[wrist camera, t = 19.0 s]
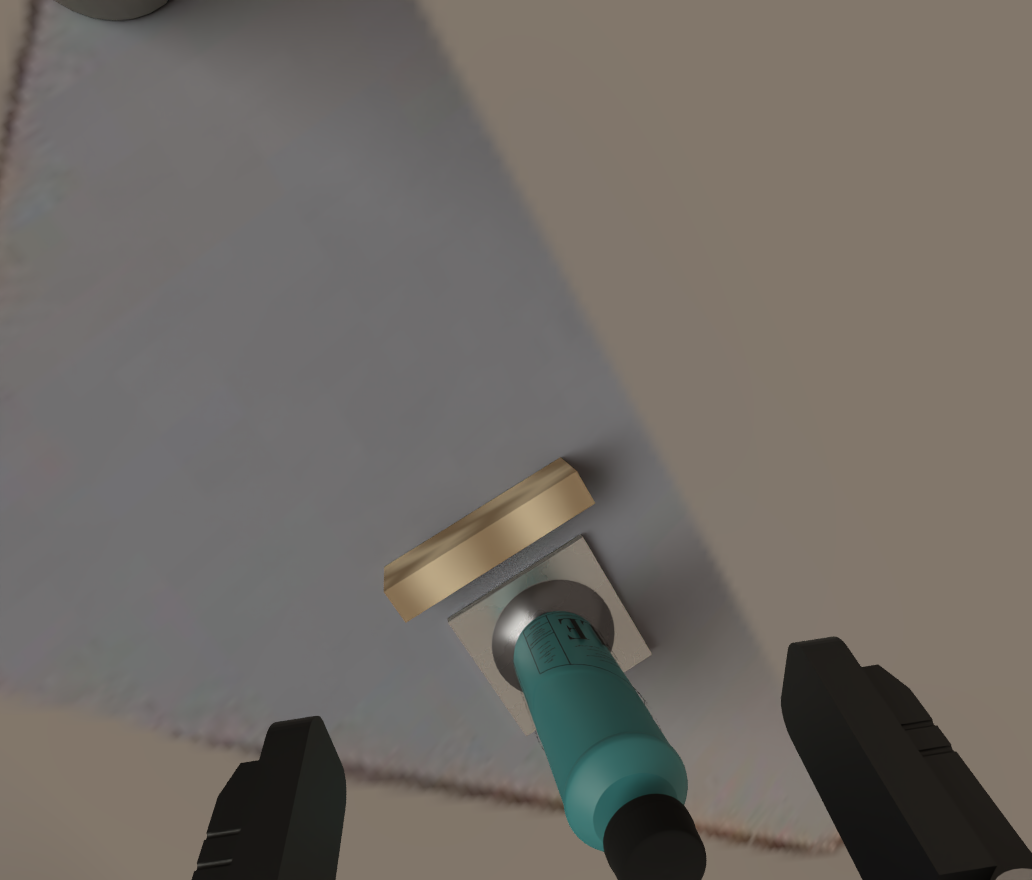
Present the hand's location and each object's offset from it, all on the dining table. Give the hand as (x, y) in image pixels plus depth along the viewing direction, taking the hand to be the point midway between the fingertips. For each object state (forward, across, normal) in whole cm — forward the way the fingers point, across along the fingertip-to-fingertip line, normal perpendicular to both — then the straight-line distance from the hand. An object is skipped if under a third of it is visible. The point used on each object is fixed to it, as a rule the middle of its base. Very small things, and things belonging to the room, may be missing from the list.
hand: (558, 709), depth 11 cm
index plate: (+26, -1, +26) cm, 37 cm away
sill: (+28, +3, +17) cm, 33 cm away
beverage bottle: (+25, -1, +26) cm, 36 cm away
